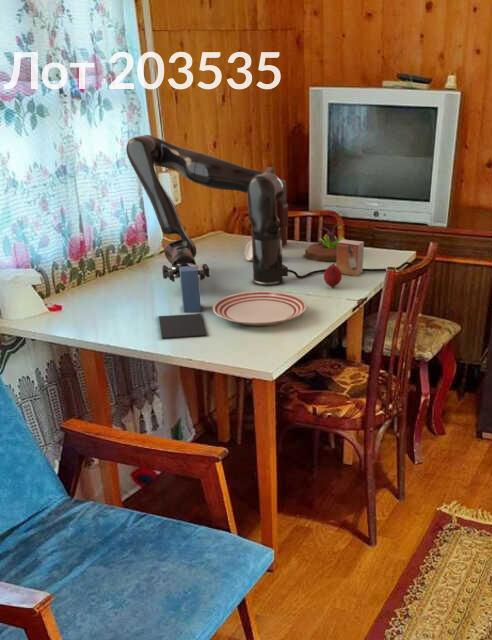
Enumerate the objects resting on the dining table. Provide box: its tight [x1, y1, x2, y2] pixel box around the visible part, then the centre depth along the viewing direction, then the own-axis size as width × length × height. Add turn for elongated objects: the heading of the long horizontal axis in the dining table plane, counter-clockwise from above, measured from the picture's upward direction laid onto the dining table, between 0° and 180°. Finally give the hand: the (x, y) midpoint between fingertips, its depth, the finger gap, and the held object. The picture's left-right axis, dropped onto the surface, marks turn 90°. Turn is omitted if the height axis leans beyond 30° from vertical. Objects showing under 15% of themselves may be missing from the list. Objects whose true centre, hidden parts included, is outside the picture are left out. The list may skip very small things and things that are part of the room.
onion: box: [323, 262, 343, 288], centre depth 241 cm, size 6×6×8 cm
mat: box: [158, 313, 207, 340], centre depth 209 cm, size 12×18×1 cm, turn 14°
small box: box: [335, 238, 365, 277], centre depth 256 cm, size 8×6×10 cm
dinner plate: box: [212, 290, 308, 327], centre depth 217 cm, size 27×27×3 cm
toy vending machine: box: [265, 166, 289, 248], centre depth 281 cm, size 9×11×28 cm
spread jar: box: [244, 236, 283, 262], centre depth 267 cm, size 12×11×12 cm
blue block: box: [179, 266, 202, 313], centre depth 219 cm, size 5×5×12 cm
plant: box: [304, 224, 345, 263], centre depth 275 cm, size 20×20×11 cm
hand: (187, 277), depth 225 cm, fingers open, 8 cm apart
